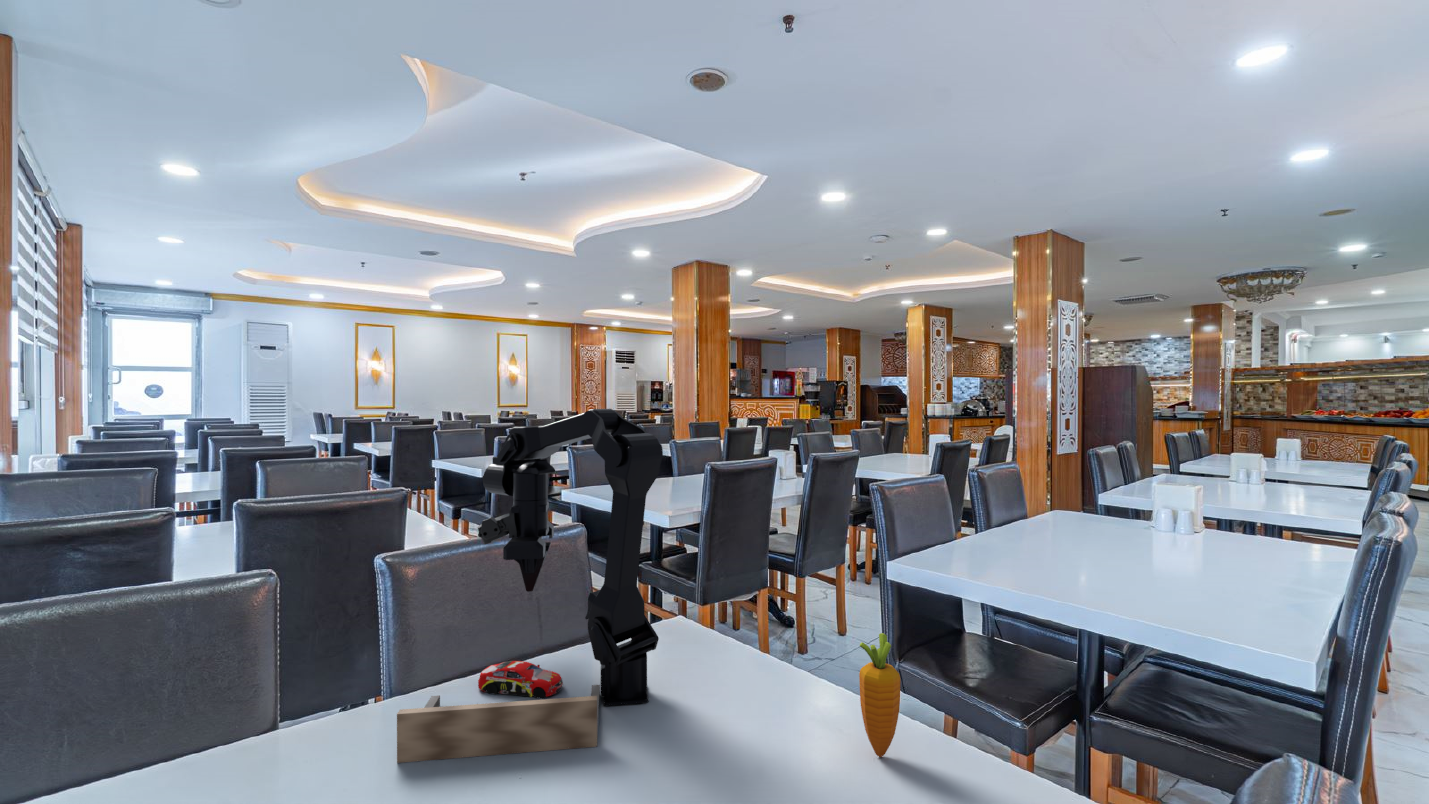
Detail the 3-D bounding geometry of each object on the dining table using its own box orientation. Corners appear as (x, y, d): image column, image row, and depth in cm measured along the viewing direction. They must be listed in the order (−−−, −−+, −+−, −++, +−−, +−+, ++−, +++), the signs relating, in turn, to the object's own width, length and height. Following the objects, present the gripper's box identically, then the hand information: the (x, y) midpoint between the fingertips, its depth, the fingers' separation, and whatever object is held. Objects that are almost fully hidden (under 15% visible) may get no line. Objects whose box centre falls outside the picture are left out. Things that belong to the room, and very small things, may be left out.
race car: (568, 687, 102) (569, 662, 102) (552, 703, 96) (552, 676, 96) (493, 679, 105) (493, 654, 105) (473, 694, 99) (473, 667, 99)
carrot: (878, 772, 77) (877, 646, 77) (851, 752, 82) (850, 633, 82) (909, 761, 80) (909, 639, 80) (881, 742, 84) (881, 627, 84)
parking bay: (599, 694, 98) (599, 654, 98) (596, 746, 83) (596, 699, 83) (431, 706, 95) (431, 665, 95) (397, 763, 80) (396, 714, 80)
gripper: (492, 492, 120) (492, 576, 120) (469, 508, 102) (470, 608, 102) (553, 490, 122) (554, 573, 122) (542, 506, 103) (543, 604, 103)
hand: (530, 588), depth 112 cm, fingers open, 3 cm apart
